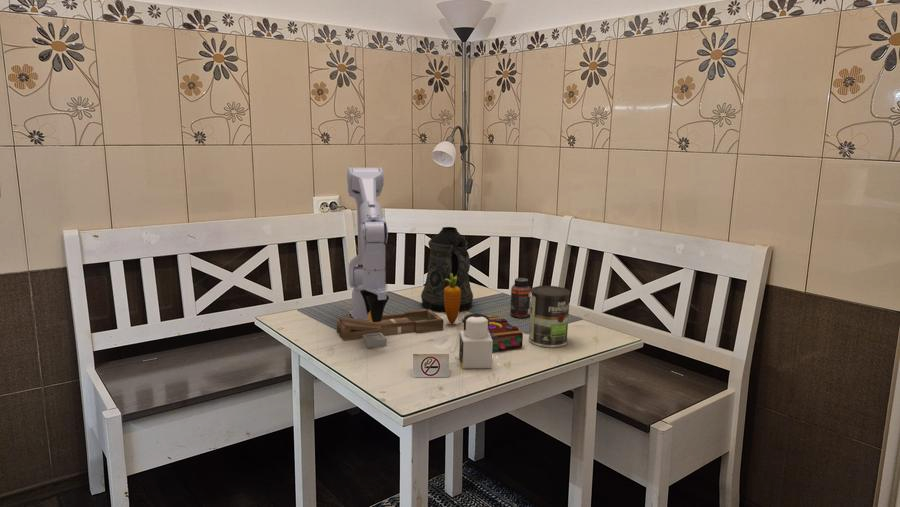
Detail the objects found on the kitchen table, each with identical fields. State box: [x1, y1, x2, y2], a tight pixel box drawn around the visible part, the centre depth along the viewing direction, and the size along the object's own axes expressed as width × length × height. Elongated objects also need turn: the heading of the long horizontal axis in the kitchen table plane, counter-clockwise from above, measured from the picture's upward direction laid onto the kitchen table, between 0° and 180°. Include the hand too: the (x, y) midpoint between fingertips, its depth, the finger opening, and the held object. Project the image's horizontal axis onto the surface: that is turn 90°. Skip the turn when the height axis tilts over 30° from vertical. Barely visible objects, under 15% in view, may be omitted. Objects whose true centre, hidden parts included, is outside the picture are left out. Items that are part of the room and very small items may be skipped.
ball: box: [368, 311, 377, 323], centre depth 157 cm, size 4×4×4 cm
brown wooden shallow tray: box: [336, 309, 444, 341], centre depth 169 cm, size 10×28×4 cm, turn 113°
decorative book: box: [461, 316, 524, 354], centre depth 162 cm, size 11×16×5 cm
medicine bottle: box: [458, 312, 493, 370], centre depth 146 cm, size 7×7×12 cm
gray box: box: [362, 333, 388, 349], centre depth 158 cm, size 5×5×2 cm
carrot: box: [444, 273, 461, 326], centre depth 173 cm, size 5×5×15 cm
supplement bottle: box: [510, 277, 532, 319], centre depth 183 cm, size 6×6×11 cm
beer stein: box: [420, 226, 474, 314], centre depth 190 cm, size 16×19×25 cm
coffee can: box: [528, 285, 571, 348], centre depth 162 cm, size 10×10×14 cm
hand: (374, 319), depth 157 cm, fingers closed on ball, 3 cm apart
